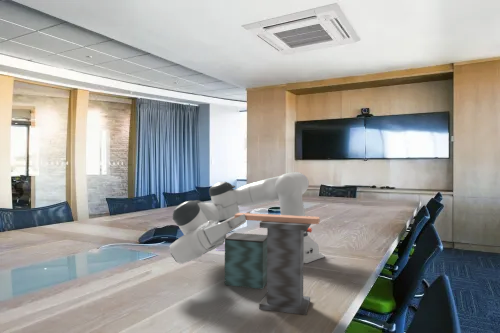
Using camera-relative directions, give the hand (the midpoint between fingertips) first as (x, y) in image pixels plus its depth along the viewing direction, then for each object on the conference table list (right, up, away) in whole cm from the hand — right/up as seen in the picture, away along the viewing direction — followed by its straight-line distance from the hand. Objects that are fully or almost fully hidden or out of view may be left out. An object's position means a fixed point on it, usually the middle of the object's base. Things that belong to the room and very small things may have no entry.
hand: (247, 215), depth 111 cm
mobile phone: (-12, -26, +68) cm, 74 cm away
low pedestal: (0, -27, +17) cm, 32 cm away
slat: (+9, -1, -3) cm, 9 cm away
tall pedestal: (+12, -27, -3) cm, 30 cm away
